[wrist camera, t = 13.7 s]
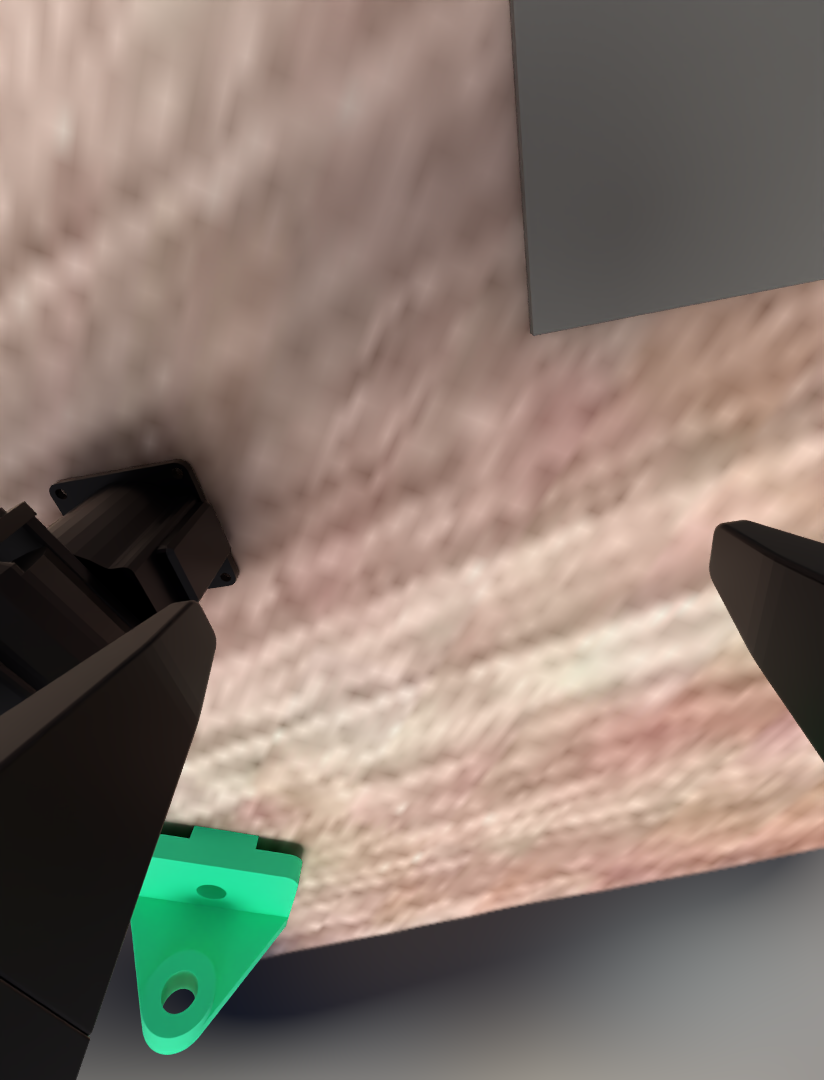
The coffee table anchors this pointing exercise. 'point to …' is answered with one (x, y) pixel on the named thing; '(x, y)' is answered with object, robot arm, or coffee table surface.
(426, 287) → the coffee table surface
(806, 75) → the rubber mat
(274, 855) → the camera mount
